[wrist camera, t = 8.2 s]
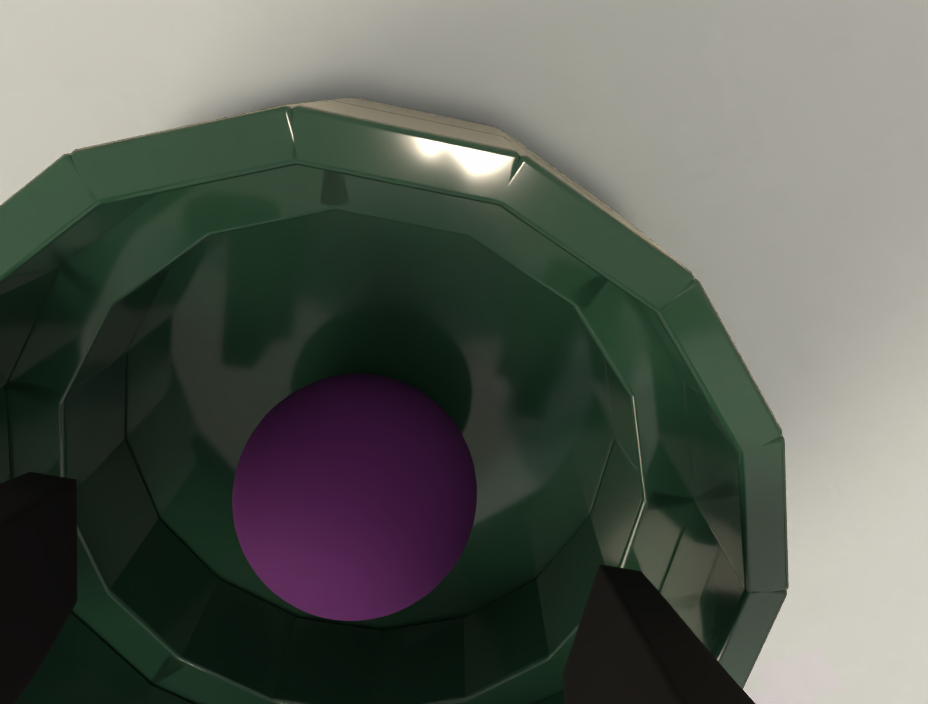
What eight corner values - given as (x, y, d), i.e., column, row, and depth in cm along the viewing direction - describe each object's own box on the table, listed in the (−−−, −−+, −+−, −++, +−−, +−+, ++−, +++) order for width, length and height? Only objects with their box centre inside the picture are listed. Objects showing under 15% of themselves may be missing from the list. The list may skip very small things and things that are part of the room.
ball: (452, 535, 14) (452, 695, 10) (259, 505, 14) (187, 659, 10) (492, 360, 13) (510, 474, 9) (278, 322, 12) (203, 423, 9)
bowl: (585, 686, 16) (636, 923, 12) (69, 611, 16) (-97, 835, 11) (764, 183, 12) (954, 242, 7) (62, 34, 11) (-219, -4, 7)
